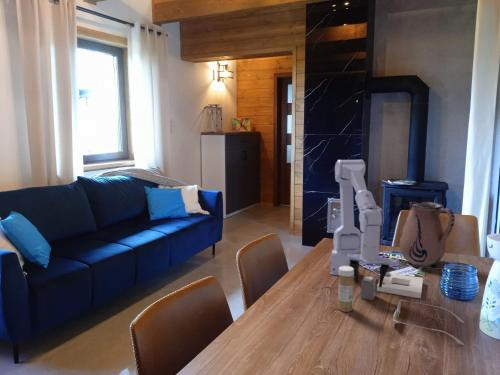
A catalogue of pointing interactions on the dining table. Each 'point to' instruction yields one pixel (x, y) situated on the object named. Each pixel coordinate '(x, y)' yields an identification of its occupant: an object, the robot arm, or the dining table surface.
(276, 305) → the dining table surface
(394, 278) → the socket plate
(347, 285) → the sprinkles bottle
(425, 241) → the ceramic pitcher
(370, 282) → the plug
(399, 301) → the eyeglasses
